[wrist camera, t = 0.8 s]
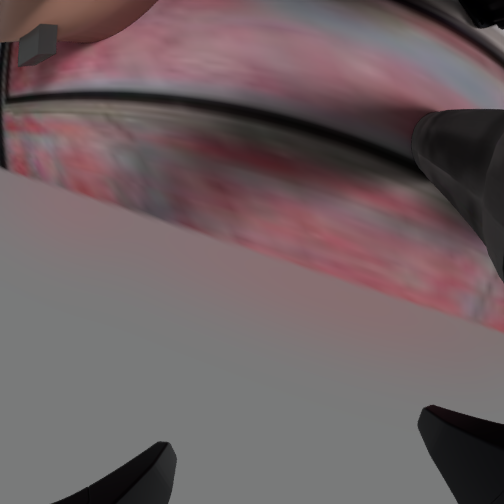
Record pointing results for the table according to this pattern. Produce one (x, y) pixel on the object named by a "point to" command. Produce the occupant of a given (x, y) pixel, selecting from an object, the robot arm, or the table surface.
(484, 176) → the beverage cup
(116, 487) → the robot arm
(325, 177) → the table surface
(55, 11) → the cooker pot
